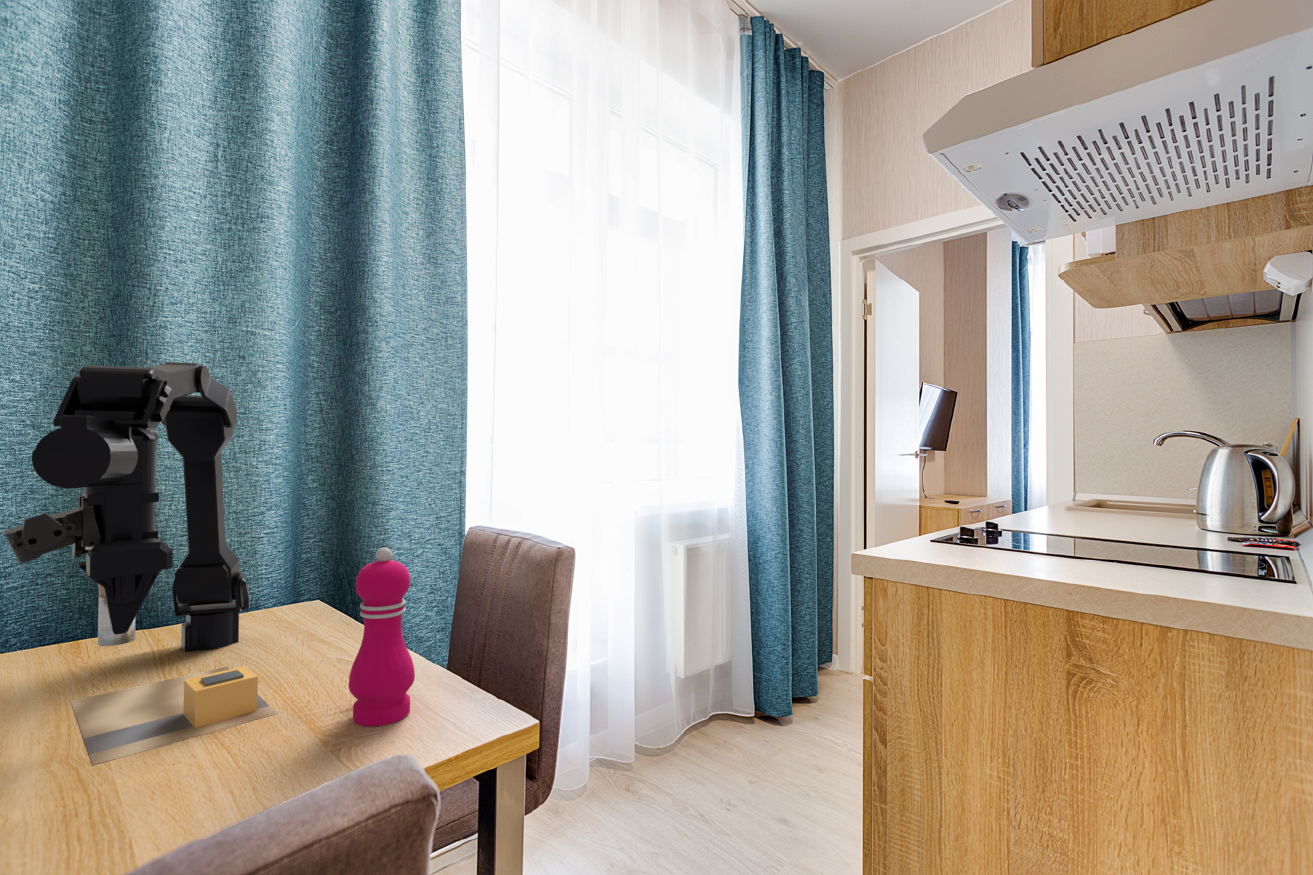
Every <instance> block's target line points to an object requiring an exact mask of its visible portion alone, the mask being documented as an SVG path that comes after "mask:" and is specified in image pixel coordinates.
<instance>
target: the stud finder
mask: <svg viewBox="0 0 1313 875" xmlns="http://www.w3.org/2000/svg"><path fill="white" fill-rule="evenodd" d="M229 669H230V670H225V671H221V672H217V673H212V674H208V675H203V676H199V677H195V678H190V679H186V680H184V708H183V715H184V716H185V717H186V718H187V720H188V721H189V722H190V723H191V724H192V725H193V726H194V728H197V727H200V726H204V725H207V724H211V723H215V722H218V721H222V720H225V719H229V718H232V717H236V716H240V715H243V714H247V713H250V712H254V711H257V694H258V685H259V684H258V683H259V682H258V679H259V678H258V677H259V676H258V675H257V674H255V673H254V672H253V671H251V670H250V669H248V668H247V667H246V666H245V665H244V666H239V667H234V668H229Z"/></svg>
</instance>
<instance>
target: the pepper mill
mask: <svg viewBox="0 0 1313 875" xmlns="http://www.w3.org/2000/svg"><path fill="white" fill-rule="evenodd" d="M392 556H393V553H392V550H391V549H390V548H388V547H385V546H384V547H380V548H379V549H378V550H377V551H376V553H375V558H376V561H372V562H370V563H368V564H366V565H365V566H364V567H362V568H361V570H360V571H359V572H358V574H357V576H356V580H355V591H356V594H357V595H358V596H359V598H361V600H362V602H361V603H360V604H359V608H360V612H359V616H360V617H362V618H363V627H364V628H363V636H362V640H361V645H360V647H359V649H358V651H357V654H356V657H355V659H354V662H352V665H351V669H350V672H349V676H348V690H349V692H350V694H351V695H352V696H353V697H354V698H355V699H356V700H355V702H354V703H353V705H352V720H353V722H354V723H355V724H356V725H358V726H361V727H369V728H371V727H373V728H374V727H382V726H387V725H391V724H395V723H398V722H400V721H401V720H403V719H404V718H406V717H408V715H409V714H410V712H411V696H410V694H409V693H407V692H408V690H410V688H411V687H412V686H413V684H414V682H415V674H416V673H415V665H414V662H413V659H412V656H411V654H410V652H409V650H408V648H407V646H406V643H405V639H404V636H403V629H402V621H403V620H402V619H403V618H402V617H403V614H404V613H405V612H406V609H407V608H406V603H407V601H406V599H404V597H405V595H406V594H407V592H408V591H409V589H410V587H411V574H410V571H409V570H408V568H407V567H406V566H405V565H404V564H403V563H401V562H399V561H397V560H391V559H392Z"/></svg>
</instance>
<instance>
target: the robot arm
mask: <svg viewBox="0 0 1313 875" xmlns="http://www.w3.org/2000/svg"><path fill="white" fill-rule="evenodd" d="M77 374H78V375H77ZM77 374H75V376H73V377H72V380H71V381H70V383H69V385H68V388H67V390H66V392H65V394H64V396H63V399H62V401H61V403H60V405H59V407H58V409H57V412H56V414H55V416H54V419H53V420H52V423H53V427H54V428H57V429H55V430H52V431H50V432H48V433H47V434H46V435H44V436H43V437H42V438H41V439H40V440H39V441H38V443H37V444H36V446H35V448H34V450H32V453H31V463H32V467H33V469H34V472H35V473H36V474H37V476H39V477H40V479H41V480H42V481H44V482H46V483H47V484H49V485H52V486H54V487H56V488H61V489H66V490H70V489H73V490H74V489H83V488H84V492H82V493H81V495H80V496H79V495H78V498H77V507H76V508H75V507H74V508H72V509H68V510H66V511H62V512H58V513H56V514H55V513H54V514H51V515H49V514H47V513H46V512H41V513H40V514H38V515H34V516H32V517H25V518H24V519H23V523H22V524H20V525H16V526H14V527H10V528H8V529H5V530H3V534H4V537H5V538H6V540H7V542H8V544H9V546H10V547H11V550H12V551H13V553H14V556H15V557H16V559H17V561H18V563H19V564H25V563H27V562H31V561H34V560H37V559H39V558H41V556H42V555H44V554H48V553H51V552H53V551H57V550H59V549H62V548H66V547H68V546H71V556H72V557H73V558H82V557H83V556H82V555H85V561H79V562H76V564H77V566H78V567H79V569H81V570H82V571H83V574H84V575H85V576H86V578H88V579H89V580H92V581H93V582H95V583H96V584H97V587H98V588H99V585H101V586H102V587H103V590H104V595H105V599H106V604H107V608H108V613H109V618H110V622H111V626H112V631H113V633H114V634H123V633H126V632H127V631H128V630H129V628H130V626H131V624H132V622H133V620H134V618H135V617H136V618H137V615H138V612H139V611H140V609H141V607H142V605H143V603H144V601H145V600H146V598H147V596H148V594H149V592H150V590H151V589H152V587H153V586H154V583H155V582H156V580H157V578H158V577H159V575H160V573H161V572H162V571H163V570H170V569H173V559H174V558H173V555H174V554H173V551H174V550H173V548H171V547H170V546H168V545H167V544H166V543H164V542H163V541H161V540H160V539H159V530H157V529H155V523H156V522H155V520H156V519H155V516H156V515H155V514H156V513H155V512H156V503H159V501H160V493H159V492H158V491H156V465H157V464H156V461H157V459H156V457H157V456H156V455H157V454H156V453H157V452H156V450H157V441H158V440H159V435H158V433H157V431H156V430H155V429H157V427H158V426H159V424H160V423H161V424H162V425H163V427H165V431H166V437H167V438H166V439H167V441H168V442H169V444H170V445H171V446H172V447H173V448H174V449H175V450H176V451H177V453H178V454H179V455H180V456H181V457H182V464H183V465H182V466H183V483H184V498H185V499H184V500H185V516H186V517H185V518H186V530H187V531H186V533H187V534H186V535H187V550H188V551H187V552H188V553H187V555H186V556H185V557H184V559H183V561H182V562H181V563H180V565H179V567H178V568H177V570H176V572H175V573H174V580H173V583H172V589H171V591H172V593H171V594H172V599H173V600H172V601H173V607H174V616H175V617H181V616H182V617H183V616H185V622H183V623H181V635H180V636H181V640H180V641H181V643H180V644H181V645H180V647H181V650H182V651H183V652H184V653H189V652H190V653H192V652H199V651H201V652H203V651H205V652H206V651H212V650H217V649H223V648H226V647H228V646H232V645H233V644H237V643H239V641H240V640H239V637H240V613H241V612H242V611H244V610H248V609H250V607H251V596H250V595H251V594H250V591H249V585H248V581H247V580H246V578H245V574H244V572H243V571H241V569H240V560H239V557H238V556H237V555H236V554H235V552H233V550H231V548H230V547H229V545H227V544H226V527H225V522H226V521H225V506H224V484H223V482H224V480H223V466H222V465H223V463H222V452H223V450H224V449H225V447H226V446H227V445H228V443H229V441H231V439H232V438H233V435H234V428H235V427H236V425H237V423H238V422H237V421H238V410H237V405H236V403H235V401H234V398H233V394H232V392H231V390H230V389H229V388H227V386H225V385H223V384H222V383H220V382H219V381H217V380H216V379H215V378H214V377H212V376H211V373H210V371H209V368H208V367H207V365H204V364H203V365H202V364H201V363H199V362H181V361H180V362H178V361H177V362H176V361H175V362H174V361H166V362H165V363H159V364H158V365H153V366H149V367H148V366H147V367H143V366H141V367H139V366H115V365H114V366H112V365H93V364H92V365H91V364H89V365H88V364H87V365H84V366H82V367H81V368H80V369H79V370H78V373H77ZM194 393H198V394H199V393H200V394H199V395H193V394H194Z"/></svg>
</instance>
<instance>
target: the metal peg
mask: <svg viewBox="0 0 1313 875" xmlns="http://www.w3.org/2000/svg"><path fill="white" fill-rule="evenodd" d="M97 611H98V614H97V615H98V619H97V646H99V647H113V646H119V645H120V646H121V645H124V644H128V643H132V642H133V641H135V640H136V622H137V621H136V618H137V616H136V617H135V618H134V620H133V622H132V624H131V626H130V628H129V630H128V631H127V632H126V633H123V634H114V633H113V631H112V626H111V622H110V618H109V613H108V608H107V604H106V599H105V595H104V590H103V587H102V586H101V585H99V587H98V610H97Z"/></svg>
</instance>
